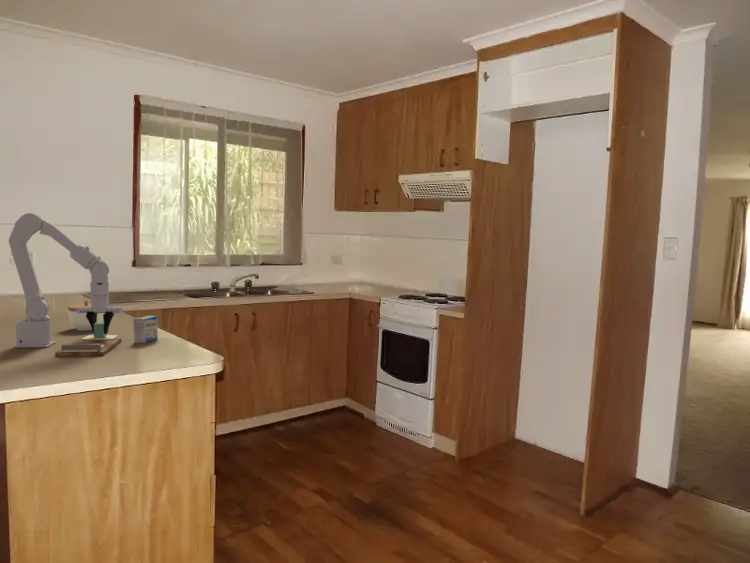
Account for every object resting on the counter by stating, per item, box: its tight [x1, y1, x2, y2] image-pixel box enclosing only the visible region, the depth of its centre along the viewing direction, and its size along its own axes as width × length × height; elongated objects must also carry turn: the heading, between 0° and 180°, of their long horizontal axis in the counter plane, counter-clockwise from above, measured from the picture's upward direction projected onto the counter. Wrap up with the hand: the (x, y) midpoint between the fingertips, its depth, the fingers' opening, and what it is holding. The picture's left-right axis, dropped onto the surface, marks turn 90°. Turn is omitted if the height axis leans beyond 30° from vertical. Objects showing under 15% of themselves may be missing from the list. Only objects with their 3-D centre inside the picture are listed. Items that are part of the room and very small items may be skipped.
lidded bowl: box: [67, 300, 105, 331], centre depth 220 cm, size 13×13×11 cm
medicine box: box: [133, 315, 159, 344], centre depth 201 cm, size 8×4×9 cm, turn 168°
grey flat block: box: [61, 343, 105, 352], centre depth 181 cm, size 11×9×2 cm
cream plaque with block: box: [81, 321, 119, 340], centre depth 197 cm, size 10×6×5 cm, turn 101°
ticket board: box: [54, 337, 122, 357], centre depth 187 cm, size 14×22×1 cm, turn 11°
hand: (100, 333), depth 198 cm, fingers closed on cream plaque with block, 3 cm apart
